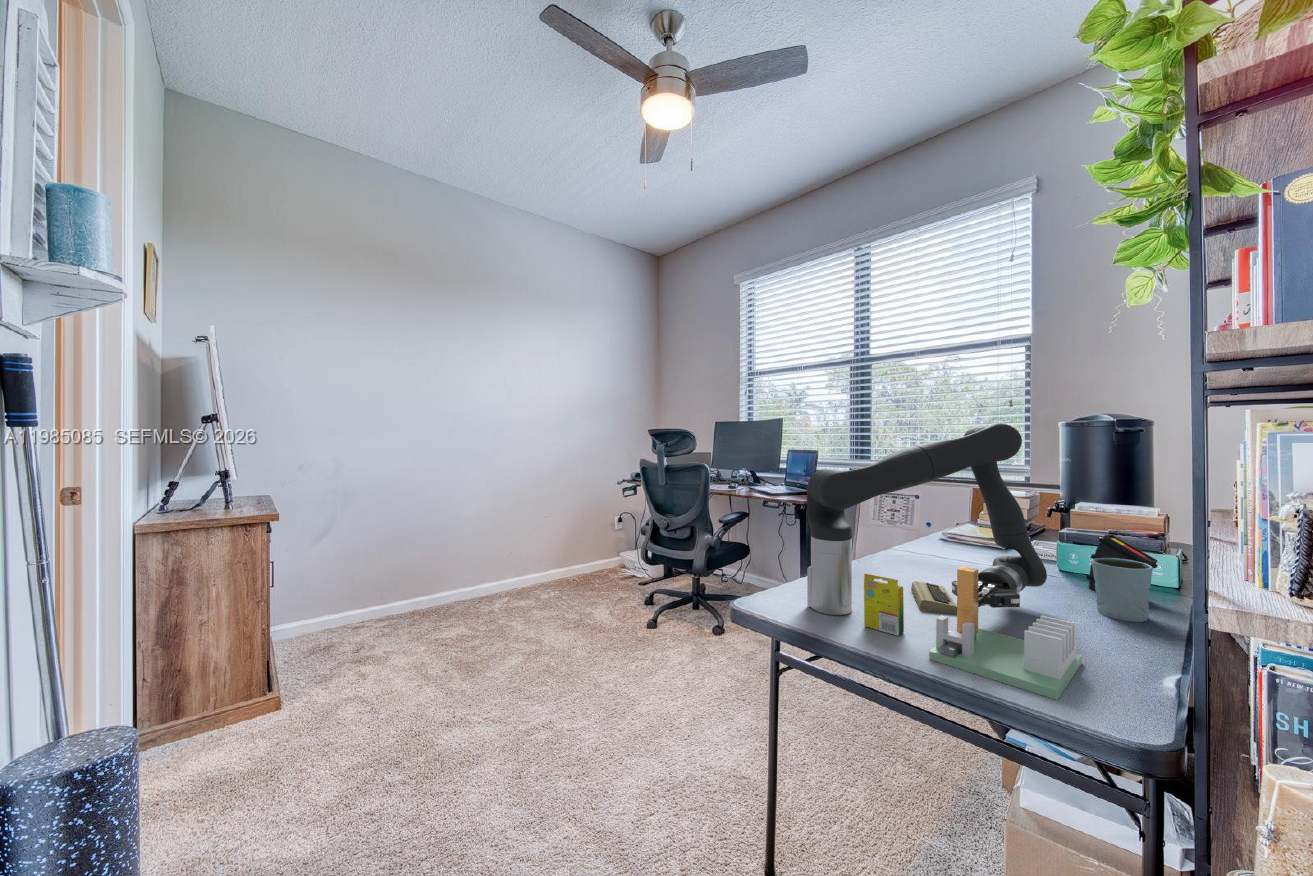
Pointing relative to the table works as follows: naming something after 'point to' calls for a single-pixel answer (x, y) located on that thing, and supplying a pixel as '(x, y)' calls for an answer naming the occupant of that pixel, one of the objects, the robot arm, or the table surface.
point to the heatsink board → (1016, 654)
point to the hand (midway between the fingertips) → (969, 603)
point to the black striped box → (1118, 554)
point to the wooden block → (964, 607)
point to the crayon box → (883, 605)
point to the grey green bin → (1122, 588)
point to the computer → (933, 597)
